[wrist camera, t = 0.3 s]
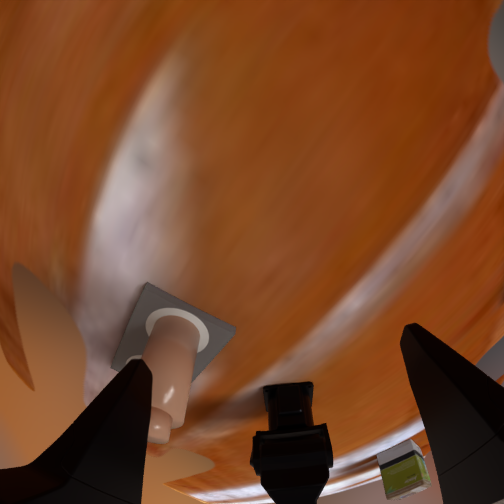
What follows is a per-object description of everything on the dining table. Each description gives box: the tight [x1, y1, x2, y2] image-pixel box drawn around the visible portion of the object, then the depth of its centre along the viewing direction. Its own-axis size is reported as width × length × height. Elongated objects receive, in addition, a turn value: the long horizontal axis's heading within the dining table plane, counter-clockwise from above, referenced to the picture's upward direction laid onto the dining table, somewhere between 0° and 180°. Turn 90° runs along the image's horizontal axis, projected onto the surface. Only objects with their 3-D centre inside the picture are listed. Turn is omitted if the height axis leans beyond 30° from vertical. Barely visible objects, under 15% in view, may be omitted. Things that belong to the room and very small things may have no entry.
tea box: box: [377, 439, 432, 500], centre depth 45 cm, size 15×10×15 cm
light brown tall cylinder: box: [141, 315, 200, 444], centre depth 22 cm, size 5×5×12 cm
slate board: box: [110, 282, 236, 383], centre depth 30 cm, size 16×10×1 cm, turn 147°
